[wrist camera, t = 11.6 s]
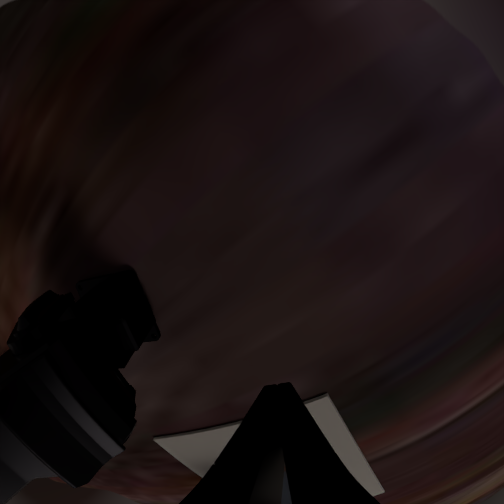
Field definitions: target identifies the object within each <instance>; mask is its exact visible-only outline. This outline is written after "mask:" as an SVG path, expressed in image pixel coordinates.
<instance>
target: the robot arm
mask: <svg viewBox="0 0 504 504" xmlns="http://www.w3.org/2000/svg"><path fill="white" fill-rule="evenodd" d="M129 275H131V276H132V279H131V278H130V277H129ZM80 285H81V286H82V288H81V286H80ZM76 289H77V291H78V293H79V296H80V299H79V300H78V301H77V302H75V301H74V299H75V298H74V297H73V295H72V293H71V292H69V293H67V294H65V295H63V294H62V295H59V294H58V295H57V294H56V293H54V292H53V291H51V290H49V291H47V292H45V293H44V294H42V295H41V296H40V297H38V298H37V299H36V300H34V301H33V302H32V303H31V304H30V305H29V306H28V307H27V308H26V309H25V311H24V312H23V313H22V314H21V316H20V317H19V318H18V322H17V323H16V325H15V327H14V329H13V331H12V333H11V335H10V337H9V339H8V341H7V345H8V346H9V348H10V349H9V350H7V351H6V352H5V353H4V354H3V355H2V356H0V504H5V503H7V502H8V501H9V500H10V499H11V498H12V497H13V496H15V495H16V494H17V493H18V492H19V491H20V490H22V489H23V488H24V487H25V486H26V485H27V484H28V483H30V482H31V481H32V480H34V479H35V478H46V477H60V478H61V479H62V480H63V481H65V482H66V483H67V484H69V485H70V486H71V487H73V488H77V487H80V486H82V485H85V484H87V483H89V482H90V480H91V479H92V478H93V477H94V475H95V474H96V473H97V472H98V470H99V469H100V468H101V467H102V466H103V465H104V464H105V463H106V462H108V461H109V460H110V459H111V458H113V457H114V456H116V455H118V454H120V453H121V452H123V451H124V450H125V447H124V446H123V444H124V443H125V442H126V441H127V439H128V438H129V436H130V434H131V433H132V431H133V429H134V428H135V426H136V422H137V421H136V419H135V418H134V417H135V411H136V404H135V394H136V390H135V389H134V388H133V387H132V385H129V383H128V382H127V381H126V379H125V378H124V377H123V375H122V374H121V373H120V371H119V370H118V369H119V368H125V366H126V365H127V363H128V361H129V360H130V358H131V356H132V355H133V353H134V352H135V351H138V350H139V348H140V346H141V345H142V343H143V342H150V341H157V340H159V338H160V336H161V334H160V331H159V329H158V327H157V324H156V319H155V317H154V315H153V312H152V310H151V307H150V305H149V303H148V300H147V298H146V295H145V294H144V293H143V290H142V288H141V285H140V283H139V280H138V277H137V275H136V273H135V272H134V271H133V270H126V271H122V272H117V273H113V274H108V275H104V276H99V277H95V278H90V279H86V280H82V281H79V282H78V283H77V284H76ZM153 334H155V335H156V336H154V335H153ZM284 466H285V468H286V473H287V479H288V485H289V491H290V496H291V502H292V504H380V503H379V502H378V501H377V500H376V499H375V498H374V497H373V496H372V495H371V494H370V493H369V492H368V491H367V490H366V489H365V488H364V487H363V486H362V485H361V484H360V483H359V482H358V481H357V480H356V479H355V477H354V476H353V475H352V474H351V473H350V472H349V470H348V469H347V468H346V466H345V465H344V464H343V462H342V461H341V459H340V458H339V456H338V455H337V453H335V451H334V449H333V448H332V446H331V445H330V443H329V441H328V440H327V438H326V437H325V435H324V434H323V432H322V431H321V429H320V428H319V426H318V425H317V423H316V422H315V420H314V418H313V417H312V415H311V414H310V412H309V411H308V409H307V407H306V406H305V404H304V403H303V401H302V400H301V398H300V396H299V395H298V393H297V392H296V390H295V388H294V387H293V385H292V384H291V383H290V382H287V383H280V384H278V386H277V385H276V384H273V385H266V386H264V387H263V389H262V390H261V392H260V393H259V395H258V397H257V398H256V400H255V401H254V403H253V405H252V406H251V408H250V409H249V411H248V413H247V414H246V416H245V417H244V419H243V420H242V422H241V423H240V425H239V427H238V428H237V430H236V431H235V433H234V434H233V436H232V437H231V439H230V440H229V442H228V443H227V445H226V446H225V447H224V449H223V450H222V452H221V453H220V455H219V456H218V458H217V459H216V460H215V462H214V464H213V465H212V466H211V467H210V469H209V470H208V471H207V473H206V474H205V475H204V477H203V478H202V479H201V481H200V482H199V483H198V484H197V485H196V486H195V488H194V489H193V490H192V491H191V492H190V493H189V494H188V495H187V496H186V497H185V498H184V499H183V500H182V501H181V502H180V503H179V504H281V500H282V490H283V478H284Z"/></svg>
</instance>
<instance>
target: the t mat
mask: <svg viewBox="0 0 504 504" xmlns="http://www.w3.org/2000/svg"><path fill="white" fill-rule="evenodd" d="M303 403H304V404H305V406H306V407H307V409H308V411H309V412H310V414H311V415H312V417H313V418H314V420H315V422H316V423H317V425H318V426H319V428H320V429H321V431H322V432H323V434H324V435H325V437H326V438H327V440H328V441H329V443H330V445H331V446H332V448H333V449H334V451H335V453H337V455H338V456H339V458H340V459H341V461H342V462H343V464H344V465H345V466H346V468H347V469H348V470H349V472H350V473H351V474H352V475H353V476H354V477H355V479H356V480H357V481H358V482H359V483H360V484H361V485H362V486H363V487H364V488H365V489H366V490H367V491H368V492H369V493H370V494H371V495H372V496H375V495H378V494H381V493H384V492H385V491H384V489H383V487H382V486H381V484H380V482H379V481H378V479H377V477H376V475H375V474H374V472H373V470H372V469H371V467H370V465H369V463H368V462H367V460H366V458H365V457H364V455H363V453H362V452H361V450H360V448H359V446H358V445H357V443H356V441H355V440H354V438H353V436H352V434H351V433H350V431H349V429H348V428H347V426H346V424H345V422H344V421H343V419H342V417H341V415H340V414H339V412H338V410H337V409H336V407H335V405H334V403H333V402H332V400H331V398H330V397H329V395H328V393H327V394H324V395H321V396H319V397H316V398H313V399H310V400H308V401H305V402H303ZM241 422H242V421H238V422H234V423H230V424H225V425H221V426H216V427H212V428H207V429H202V430H197V431H191V432H186V433H180V434H174V435H167V436H160V437H154V439H153V440H154V441H155V442H157V443H158V444H159V445H160V446H161V447H163V448H164V449H165V450H166V451H167V452H169V453H170V454H171V455H172V456H174V457H175V458H176V459H177V460H179V461H180V462H181V463H183V464H184V465H185V466H187V467H188V468H189V469H191V470H192V471H194V472H195V473H196V474H198V475H199V476H201V477H202V478H203V477H204V475H205V474H206V473H207V471H208V470H209V469H210V467H211V466H212V465H213V464H214V462H215V460H216V459H217V458H218V456H219V455H220V453H221V452H222V450H223V449H224V447H225V446H226V445H227V443H228V442H229V440H230V439H231V437H232V436H233V434H234V433H235V431H236V430H237V428H238V427H239V425H240V423H241ZM284 471H286V468H285V466H284Z"/></svg>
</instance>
